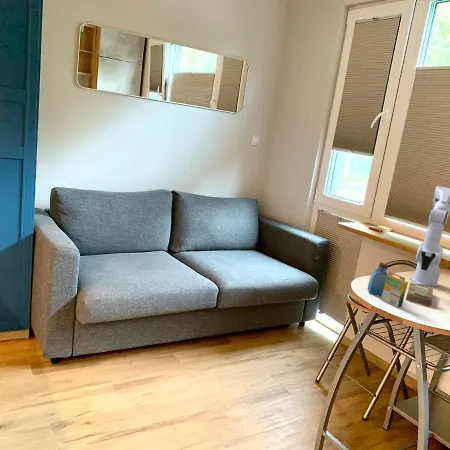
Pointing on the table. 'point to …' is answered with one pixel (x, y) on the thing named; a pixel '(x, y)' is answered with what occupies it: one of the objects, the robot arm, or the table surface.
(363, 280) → the table surface
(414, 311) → the table surface
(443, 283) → the table surface
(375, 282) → the perfume bottle
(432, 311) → the table surface
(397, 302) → the crayon box
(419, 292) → the fader knob
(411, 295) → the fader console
